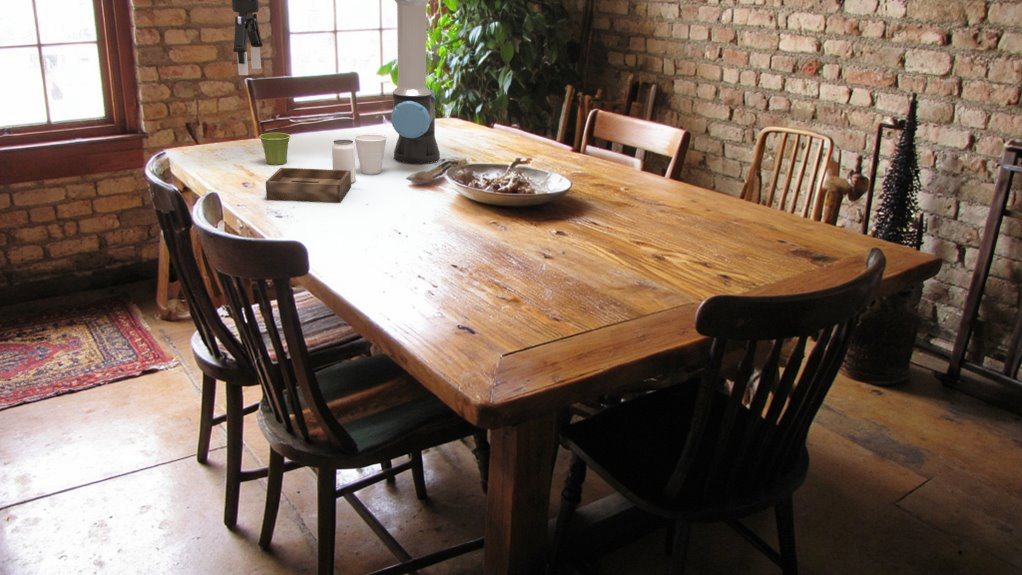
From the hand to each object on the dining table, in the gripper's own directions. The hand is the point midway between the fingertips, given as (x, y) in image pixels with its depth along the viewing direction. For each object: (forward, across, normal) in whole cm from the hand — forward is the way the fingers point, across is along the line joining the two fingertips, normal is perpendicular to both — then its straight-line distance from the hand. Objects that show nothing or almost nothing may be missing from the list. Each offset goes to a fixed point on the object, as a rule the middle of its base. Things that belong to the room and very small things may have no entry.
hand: (250, 71), depth 256 cm
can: (+28, +19, +31) cm, 46 cm away
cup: (+28, +7, +37) cm, 47 cm away
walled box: (+28, +33, +24) cm, 49 cm away
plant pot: (+28, 0, +6) cm, 29 cm away
